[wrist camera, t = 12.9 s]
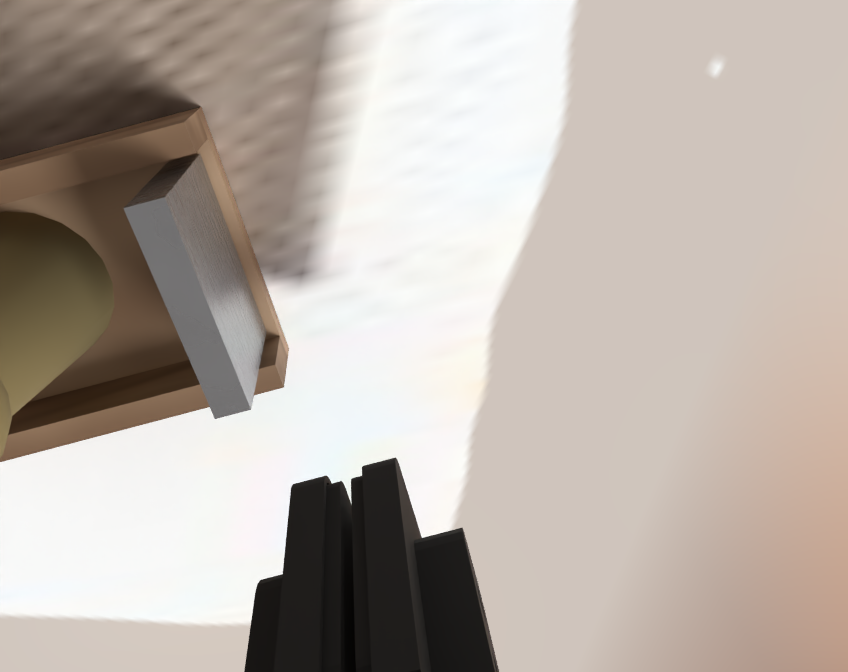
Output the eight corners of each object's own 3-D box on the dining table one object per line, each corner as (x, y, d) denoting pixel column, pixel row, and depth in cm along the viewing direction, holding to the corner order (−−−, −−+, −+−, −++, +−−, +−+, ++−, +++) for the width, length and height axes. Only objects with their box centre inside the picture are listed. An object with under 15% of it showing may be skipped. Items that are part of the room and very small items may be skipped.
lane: (-178, 207, 26) (-243, 235, 23) (201, 106, 26) (183, 122, 23) (-36, 434, 31) (-76, 482, 28) (288, 348, 31) (283, 387, 28)
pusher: (167, 162, 26) (123, 208, 21) (200, 153, 26) (164, 197, 20) (237, 339, 29) (215, 419, 24) (266, 331, 29) (250, 409, 24)
